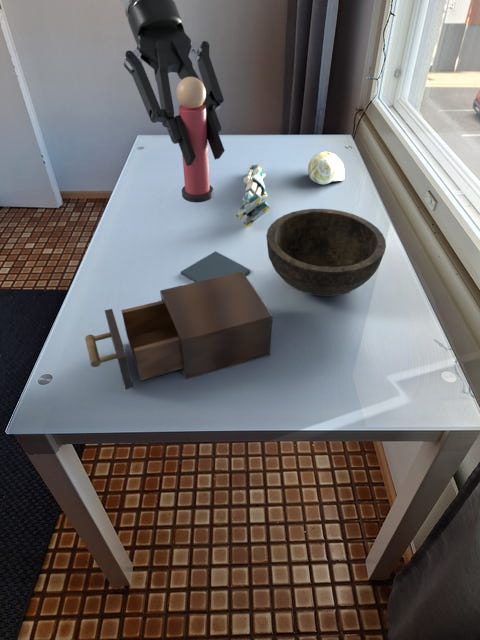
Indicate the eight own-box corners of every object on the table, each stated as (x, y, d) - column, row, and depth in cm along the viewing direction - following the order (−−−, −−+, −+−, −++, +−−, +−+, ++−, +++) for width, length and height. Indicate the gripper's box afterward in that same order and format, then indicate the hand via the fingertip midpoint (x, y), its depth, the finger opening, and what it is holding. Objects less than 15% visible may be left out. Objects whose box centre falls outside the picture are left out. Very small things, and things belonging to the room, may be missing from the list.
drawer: (99, 397, 71) (89, 366, 66) (88, 346, 79) (79, 316, 74) (209, 365, 76) (207, 334, 71) (189, 321, 83) (186, 290, 79)
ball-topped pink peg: (187, 205, 76) (177, 84, 64) (178, 190, 80) (167, 74, 67) (217, 199, 77) (213, 80, 65) (207, 185, 81) (202, 70, 69)
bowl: (343, 243, 104) (350, 201, 97) (397, 303, 89) (410, 258, 82) (249, 261, 99) (250, 218, 92) (290, 328, 83) (294, 282, 77)
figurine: (254, 192, 101) (260, 146, 125) (227, 216, 105) (238, 167, 129) (276, 215, 104) (278, 166, 128) (249, 237, 108) (256, 186, 132)
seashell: (342, 167, 131) (350, 141, 122) (342, 196, 128) (351, 172, 119) (305, 164, 131) (311, 138, 122) (304, 193, 128) (310, 169, 119)
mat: (180, 273, 95) (180, 271, 95) (215, 253, 101) (215, 251, 101) (215, 294, 90) (215, 292, 90) (250, 272, 96) (250, 269, 95)
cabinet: (185, 379, 75) (181, 340, 69) (165, 328, 83) (159, 290, 78) (270, 355, 79) (272, 316, 73) (242, 309, 87) (242, 271, 82)
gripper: (196, 22, 77) (246, 157, 77) (93, 33, 71) (147, 180, 71) (209, -14, 70) (264, 135, 70) (96, -4, 64) (156, 159, 64)
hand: (205, 158), depth 71 cm, fingers closed on ball-topped pink peg, 4 cm apart
